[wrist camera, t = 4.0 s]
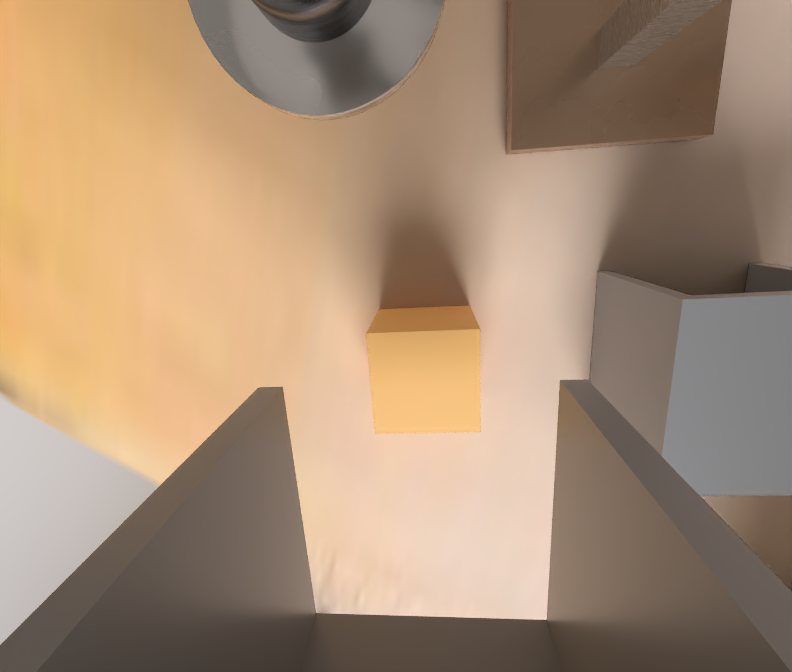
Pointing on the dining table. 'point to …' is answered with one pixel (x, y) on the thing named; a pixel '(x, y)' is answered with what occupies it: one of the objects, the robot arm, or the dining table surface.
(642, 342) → the grey cube box
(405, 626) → the hiding cup
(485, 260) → the dining table surface
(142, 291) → the dining table surface
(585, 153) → the dining table surface
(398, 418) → the orange block
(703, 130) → the balance scale
